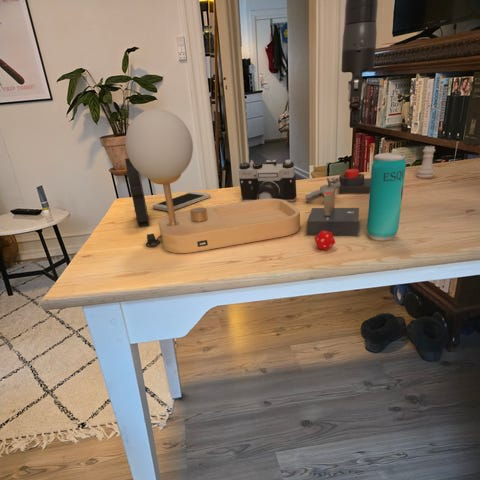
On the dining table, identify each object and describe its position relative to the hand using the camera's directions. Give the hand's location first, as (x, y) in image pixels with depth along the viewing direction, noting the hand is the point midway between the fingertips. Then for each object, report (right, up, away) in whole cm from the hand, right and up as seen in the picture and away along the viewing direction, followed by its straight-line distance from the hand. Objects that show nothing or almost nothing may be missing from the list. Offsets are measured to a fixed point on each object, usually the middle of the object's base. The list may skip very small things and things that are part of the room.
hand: (354, 125), depth 104 cm
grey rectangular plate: (-10, -27, -18) cm, 34 cm away
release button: (+1, -11, +7) cm, 13 cm away
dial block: (-9, -30, -17) cm, 36 cm away
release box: (+3, -14, +8) cm, 16 cm away
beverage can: (-1, -33, -24) cm, 41 cm away
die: (-13, -36, -26) cm, 46 cm away
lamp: (-33, -31, -14) cm, 47 cm away
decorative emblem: (-53, -25, -2) cm, 59 cm away
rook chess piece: (+24, -9, +13) cm, 28 cm away
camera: (-22, -19, +3) cm, 29 cm away
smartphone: (-45, -17, +10) cm, 49 cm away
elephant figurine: (-8, -20, -1) cm, 21 cm away
